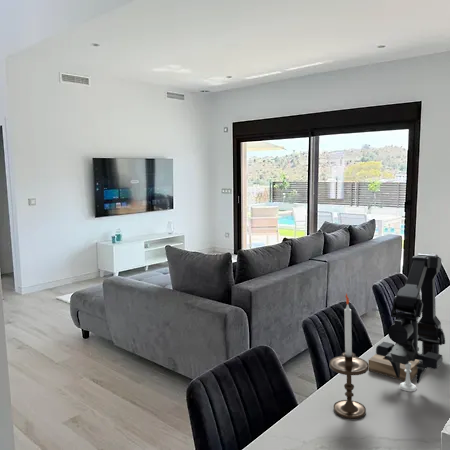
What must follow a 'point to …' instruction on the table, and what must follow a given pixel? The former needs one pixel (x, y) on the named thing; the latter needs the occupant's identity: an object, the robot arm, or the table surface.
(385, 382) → the table surface
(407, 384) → the chess piece
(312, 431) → the table surface
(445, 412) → the table surface
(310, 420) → the table surface
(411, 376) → the tan wooden square block
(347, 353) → the candlestick
